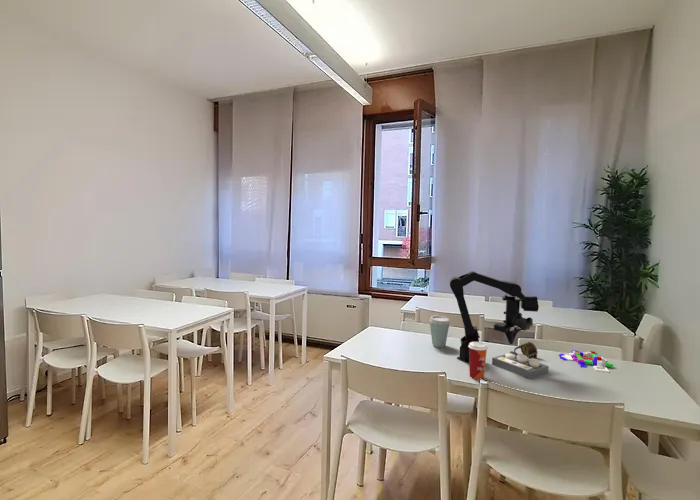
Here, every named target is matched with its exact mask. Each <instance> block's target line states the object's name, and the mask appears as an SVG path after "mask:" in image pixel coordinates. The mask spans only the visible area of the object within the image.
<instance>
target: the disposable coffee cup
mask: <svg viewBox="0 0 700 500" xmlns="http://www.w3.org/2000/svg"><path fill="white" fill-rule="evenodd" d="M428 321H429V326H430V327H429V328H430V334H431V335H430V336H431V343H432V346H433V347H435V348H445V347H446V344H447V339H448V332H449V328H450V324H451V320H450V319H449V317H446V316H443V315H430V318H429V320H428Z"/></svg>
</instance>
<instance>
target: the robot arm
mask: <svg viewBox="0 0 700 500" xmlns="http://www.w3.org/2000/svg"><path fill="white" fill-rule="evenodd" d="M474 281H475V282H476V283H477V282H478V283H480V284H483V285H486V286H489V287H492V288H495V289H498V290H500V291H502V292H504V293H505V294H504V296H502V297H501V300H503V301H505V311H503V315H505V319H504V320H503V323H502V322H497V323H495V324H493V330H494V331H497V332H501V333H504V334H505V337H506V338H507V341H508V344H510V345H513V344H514V341H515V339H516V336H517V334H518V333H519V332H521V331H527V330H530V328H531V327H532V326H534V324H533V321H534V320H533V318H532V317H523V314H522V312H520V309H523V312H535V313H537V312H538V311H539V308H540V306H539V301H538V297H537V296H535V295H532V296H529V295H527V296H526V295H524V294H523V293H522V287H521V286H520V284H518V283H517V282H515V281H510V280H509V281H508V280H500V279H496V278H494V277H491V276H487V275H485V274H482V273H479V272H476V271H473V270H472V271H469V272H468V273H467V272H466V273H465V274H462V275H460V276H453V277H451V278H450V280H449V287H450V289H451V291H452V293H453V295H454V297H455V299H456V302H457V305H458V308H459V309H458V310H459V312H460V315H461V319H462V324H463V327H464V336H463V337H461V338H460V340H459V341H460V346H459V356H457V357H456V359H458V360H460V361H463V362H464V363H469V347H468V346H469V343H470V342H480V338H481V337H480V333H479V330H478V327H477V325H473V323H472V319H471V317H470V313H469V310H468V306H467V303H466V300H465V295H464V294H465V293H464V287H465V286H467V285H468V284H470V283H472V282H474ZM508 295H509V296H508Z"/></svg>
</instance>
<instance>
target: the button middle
mask: <svg viewBox="0 0 700 500" xmlns="http://www.w3.org/2000/svg"><path fill="white" fill-rule="evenodd" d="M517 354H518V353H517ZM527 359H528V357H527V356H526V355H523V353H519V354H518V355H517V362H519V363H522V364H525V363H527Z"/></svg>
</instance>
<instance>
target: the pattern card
mask: <svg viewBox="0 0 700 500" xmlns="http://www.w3.org/2000/svg"><path fill="white" fill-rule="evenodd" d="M497 359H498V360H501V361H504V362H507V363H509V364H512V365H515V366H517V367H520V368H523V369H526V370H529V369H532V367H529V366H526V365H523V364H521V363H518V362H515V361H512V360H509V359H507V358H504V357H500V358H497Z"/></svg>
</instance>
